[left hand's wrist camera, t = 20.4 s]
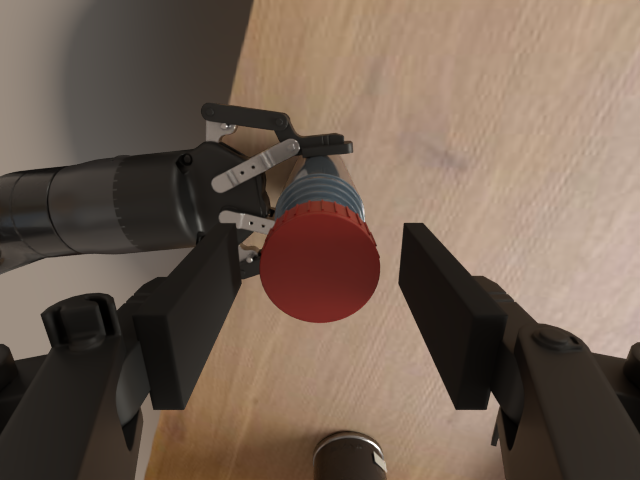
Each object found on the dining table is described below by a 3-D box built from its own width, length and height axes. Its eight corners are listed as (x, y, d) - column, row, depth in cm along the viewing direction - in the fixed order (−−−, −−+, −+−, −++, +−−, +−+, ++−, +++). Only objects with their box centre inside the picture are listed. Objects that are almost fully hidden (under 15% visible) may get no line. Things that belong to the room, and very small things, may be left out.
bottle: (304, 137, 31) (279, 180, 12) (353, 157, 32) (406, 229, 12) (286, 187, 33) (239, 296, 14) (334, 205, 34) (353, 333, 14)
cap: (341, 178, 13) (345, 188, 11) (391, 270, 14) (402, 292, 13) (244, 232, 14) (233, 250, 12) (301, 314, 15) (298, 341, 13)
